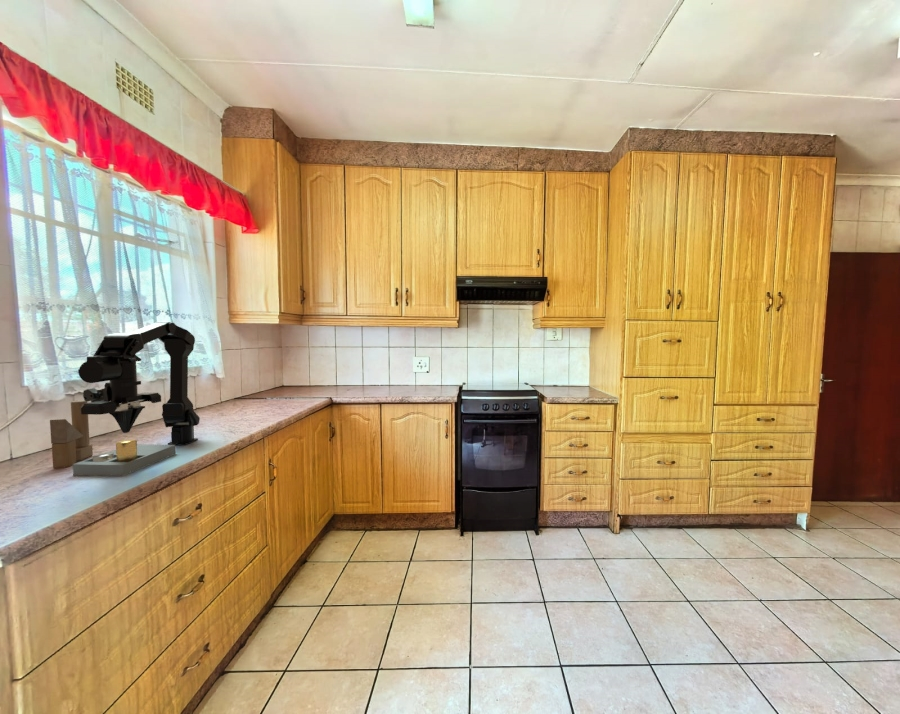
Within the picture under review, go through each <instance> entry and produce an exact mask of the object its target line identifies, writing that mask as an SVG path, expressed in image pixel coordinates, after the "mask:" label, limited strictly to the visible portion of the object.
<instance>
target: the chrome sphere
mask: <svg viewBox="0 0 900 714" xmlns="http://www.w3.org/2000/svg"><path fill="white" fill-rule="evenodd" d="M92 458H93V462H104V461H107V460H110V459H113V458H114V453H108V452H103V453H98V454H95V455H92Z"/></svg>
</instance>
